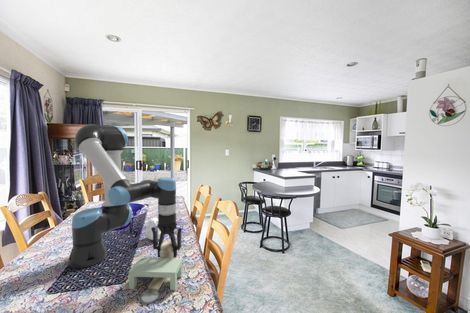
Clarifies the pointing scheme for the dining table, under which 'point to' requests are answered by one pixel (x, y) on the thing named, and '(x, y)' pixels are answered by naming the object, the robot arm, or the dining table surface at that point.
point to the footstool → (156, 270)
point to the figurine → (149, 231)
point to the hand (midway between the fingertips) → (167, 263)
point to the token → (150, 296)
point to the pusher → (165, 253)
